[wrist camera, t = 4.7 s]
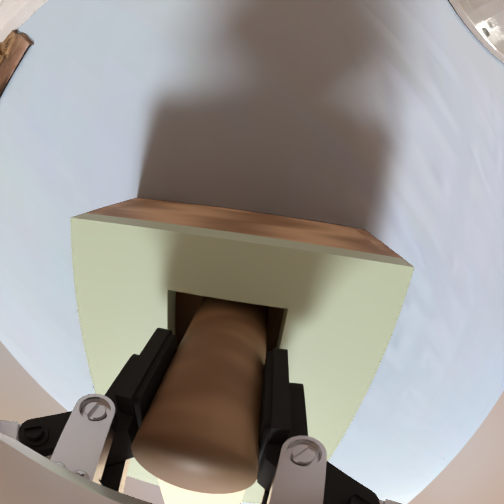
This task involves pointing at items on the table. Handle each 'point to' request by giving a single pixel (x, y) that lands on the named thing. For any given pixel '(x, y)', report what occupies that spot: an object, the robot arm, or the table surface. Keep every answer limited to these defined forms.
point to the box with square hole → (246, 225)
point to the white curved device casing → (16, 14)
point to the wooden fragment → (11, 55)
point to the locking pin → (209, 402)
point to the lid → (241, 290)
